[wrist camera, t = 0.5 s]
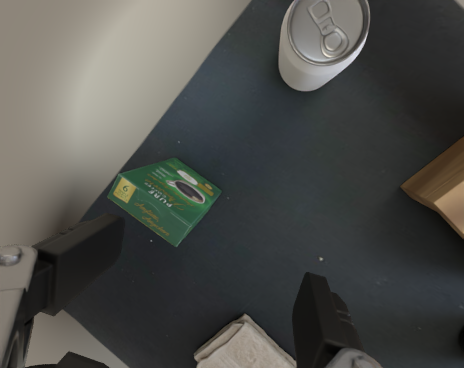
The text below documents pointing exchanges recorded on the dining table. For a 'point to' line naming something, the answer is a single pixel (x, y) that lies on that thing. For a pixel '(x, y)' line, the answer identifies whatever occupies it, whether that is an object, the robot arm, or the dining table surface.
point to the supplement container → (462, 341)
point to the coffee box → (165, 197)
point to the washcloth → (242, 348)
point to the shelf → (442, 186)
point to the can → (321, 40)
